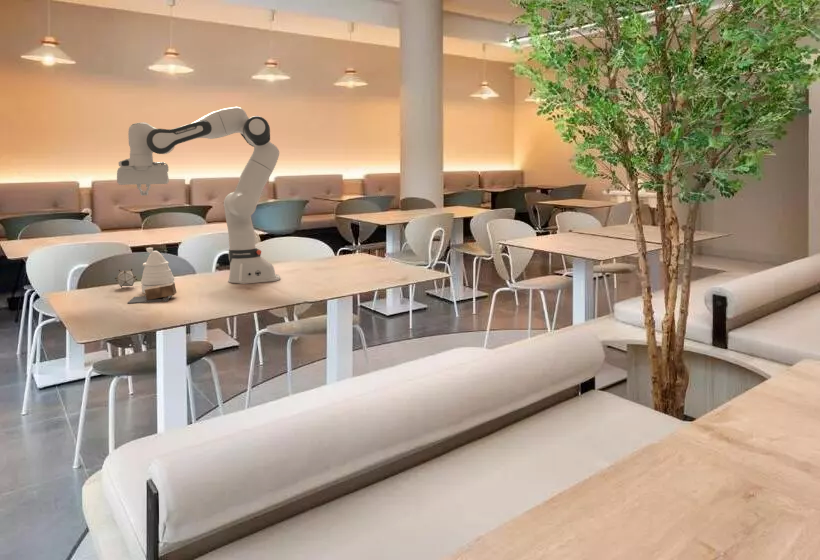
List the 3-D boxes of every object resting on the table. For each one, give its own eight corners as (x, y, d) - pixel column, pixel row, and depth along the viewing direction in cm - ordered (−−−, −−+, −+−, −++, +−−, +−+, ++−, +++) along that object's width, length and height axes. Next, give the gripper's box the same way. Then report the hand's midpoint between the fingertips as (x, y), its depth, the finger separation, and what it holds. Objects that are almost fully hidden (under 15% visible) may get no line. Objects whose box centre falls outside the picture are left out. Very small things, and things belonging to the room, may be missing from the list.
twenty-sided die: (129, 297, 272) (126, 280, 265) (112, 289, 273) (108, 273, 266) (142, 283, 278) (140, 267, 271) (125, 276, 279) (122, 260, 272)
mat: (166, 295, 251) (166, 294, 251) (161, 301, 240) (161, 300, 240) (134, 297, 249) (134, 296, 249) (127, 303, 237) (127, 302, 237)
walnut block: (174, 282, 248) (147, 287, 246) (171, 285, 242) (144, 289, 241) (176, 292, 249) (149, 297, 247) (174, 295, 243) (146, 300, 241)
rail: (172, 294, 253) (172, 291, 253) (167, 301, 239) (166, 298, 239) (169, 295, 252) (169, 292, 252) (163, 301, 239) (163, 298, 239)
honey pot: (143, 295, 254) (139, 250, 251) (140, 290, 266) (136, 247, 263) (177, 291, 260) (173, 247, 257) (173, 287, 271) (169, 245, 268)
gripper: (168, 162, 273) (171, 194, 275) (117, 162, 269) (120, 195, 271) (166, 161, 267) (169, 194, 269) (114, 162, 263) (117, 196, 265)
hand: (144, 195), depth 270 cm, fingers closed
